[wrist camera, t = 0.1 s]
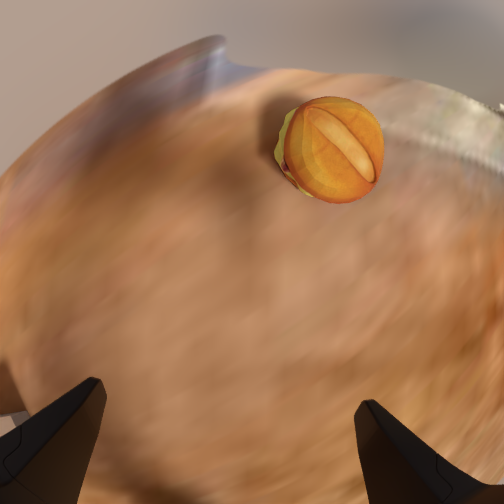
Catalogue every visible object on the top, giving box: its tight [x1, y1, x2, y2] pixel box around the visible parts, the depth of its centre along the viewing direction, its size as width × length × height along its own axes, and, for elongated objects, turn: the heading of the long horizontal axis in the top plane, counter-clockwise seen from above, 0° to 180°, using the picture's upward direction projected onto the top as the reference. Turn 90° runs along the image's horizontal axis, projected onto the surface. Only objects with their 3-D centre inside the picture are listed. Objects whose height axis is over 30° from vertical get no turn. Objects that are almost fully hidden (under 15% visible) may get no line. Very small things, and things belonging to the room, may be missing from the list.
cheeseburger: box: [274, 97, 384, 204], centre depth 23 cm, size 10×11×10 cm
